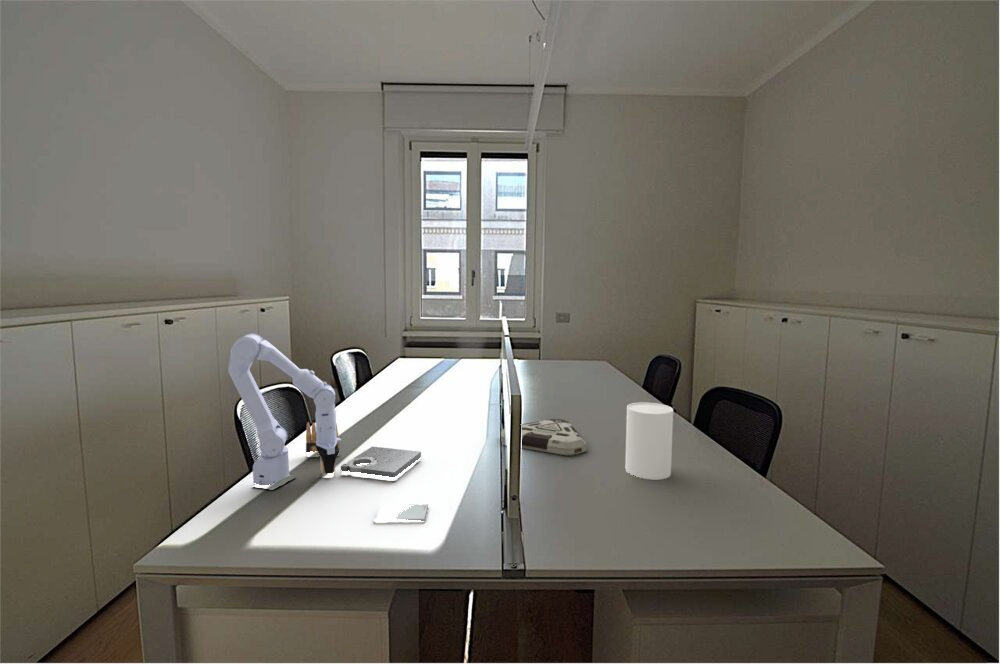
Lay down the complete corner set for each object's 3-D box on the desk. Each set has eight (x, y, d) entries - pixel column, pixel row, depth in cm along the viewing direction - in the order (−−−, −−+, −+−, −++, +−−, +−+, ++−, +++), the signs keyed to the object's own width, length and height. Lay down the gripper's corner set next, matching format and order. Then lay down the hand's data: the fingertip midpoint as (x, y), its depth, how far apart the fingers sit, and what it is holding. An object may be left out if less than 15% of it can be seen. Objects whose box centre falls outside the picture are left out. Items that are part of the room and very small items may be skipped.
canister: (669, 465, 156) (671, 403, 154) (672, 481, 143) (674, 415, 141) (625, 460, 159) (627, 401, 157) (624, 476, 146) (626, 412, 144)
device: (492, 444, 177) (492, 431, 176) (524, 425, 200) (524, 413, 200) (579, 460, 161) (579, 445, 161) (602, 436, 185) (602, 424, 185)
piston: (329, 479, 145) (329, 457, 144) (317, 478, 146) (316, 455, 145) (338, 474, 149) (337, 452, 148) (326, 472, 150) (325, 450, 149)
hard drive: (428, 503, 127) (380, 503, 127) (424, 518, 119) (373, 519, 119) (428, 509, 127) (381, 510, 127) (424, 525, 119) (373, 525, 119)
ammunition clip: (305, 457, 163) (304, 422, 161) (307, 455, 164) (305, 421, 163) (338, 456, 164) (337, 422, 162) (339, 454, 165) (338, 420, 164)
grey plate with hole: (394, 482, 143) (394, 472, 142) (341, 475, 148) (340, 466, 147) (421, 460, 160) (420, 451, 160) (372, 455, 165) (372, 446, 165)
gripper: (344, 430, 141) (346, 475, 143) (335, 418, 154) (337, 459, 155) (319, 434, 138) (321, 480, 139) (311, 421, 150) (313, 463, 152)
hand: (327, 470), depth 147 cm, fingers closed on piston, 4 cm apart
